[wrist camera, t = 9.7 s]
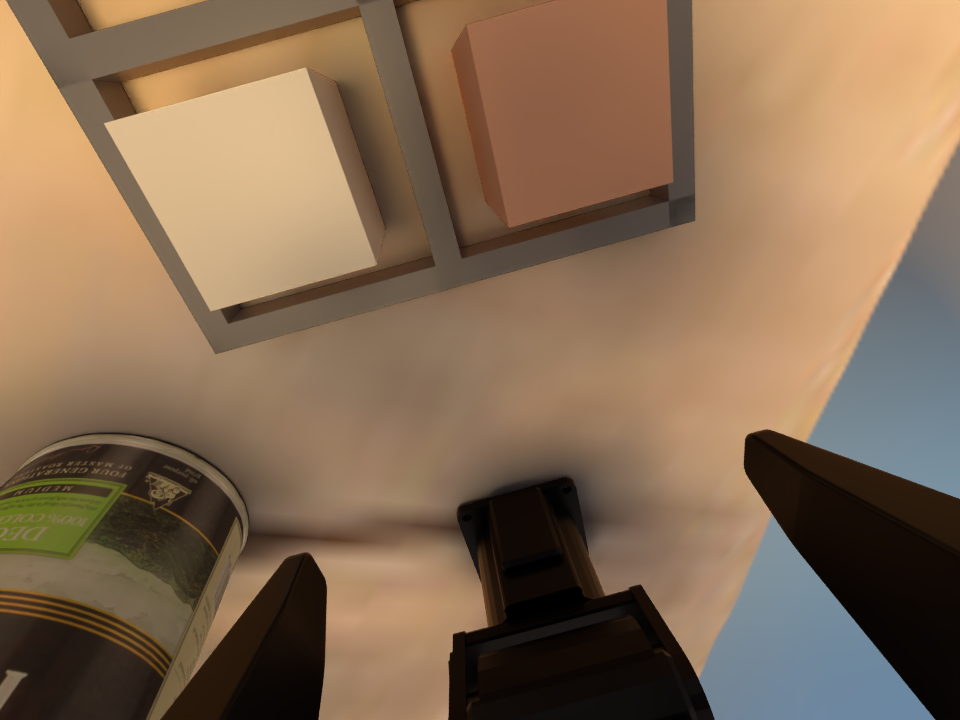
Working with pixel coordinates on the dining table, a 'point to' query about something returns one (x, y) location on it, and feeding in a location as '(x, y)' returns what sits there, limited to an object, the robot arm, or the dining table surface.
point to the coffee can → (110, 576)
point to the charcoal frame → (299, 165)
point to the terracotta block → (567, 104)
